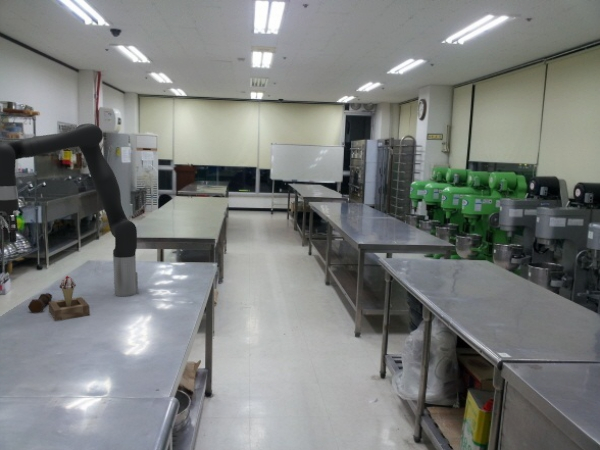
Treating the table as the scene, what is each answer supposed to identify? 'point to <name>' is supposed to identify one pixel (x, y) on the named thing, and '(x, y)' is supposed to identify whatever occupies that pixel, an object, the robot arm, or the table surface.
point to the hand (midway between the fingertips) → (9, 240)
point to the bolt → (39, 303)
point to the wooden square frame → (68, 309)
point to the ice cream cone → (67, 289)
